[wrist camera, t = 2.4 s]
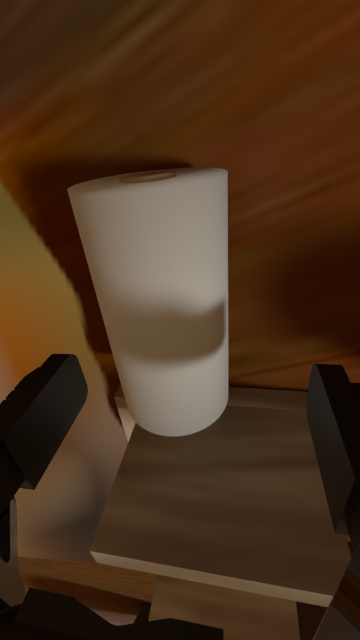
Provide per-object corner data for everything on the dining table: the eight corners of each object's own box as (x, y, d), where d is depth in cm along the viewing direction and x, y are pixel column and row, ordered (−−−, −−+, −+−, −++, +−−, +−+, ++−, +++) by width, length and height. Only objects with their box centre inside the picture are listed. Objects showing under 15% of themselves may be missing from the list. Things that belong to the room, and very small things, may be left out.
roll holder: (121, 380, 20) (45, 542, 12) (344, 394, 17) (430, 614, 9) (153, 496, 28) (120, 637, 20) (307, 517, 26) (337, 690, 18)
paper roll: (149, 165, 13) (36, 187, 10) (258, 163, 10) (143, 193, 7) (174, 349, 19) (106, 401, 16) (248, 385, 16) (182, 460, 13)
